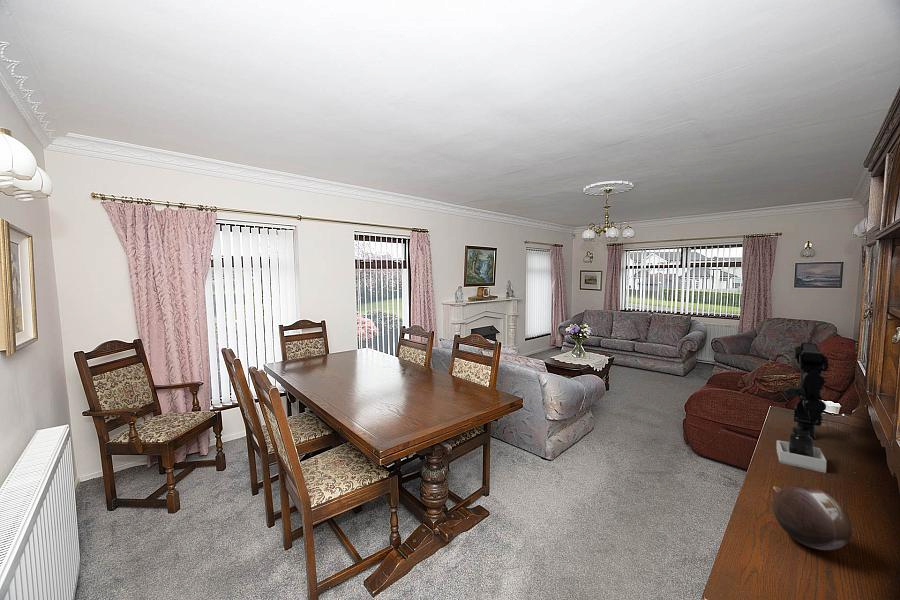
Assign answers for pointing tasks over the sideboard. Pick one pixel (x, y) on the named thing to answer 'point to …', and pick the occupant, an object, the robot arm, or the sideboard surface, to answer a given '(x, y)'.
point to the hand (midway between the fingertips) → (810, 419)
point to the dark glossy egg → (812, 517)
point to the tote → (801, 458)
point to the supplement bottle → (801, 442)
